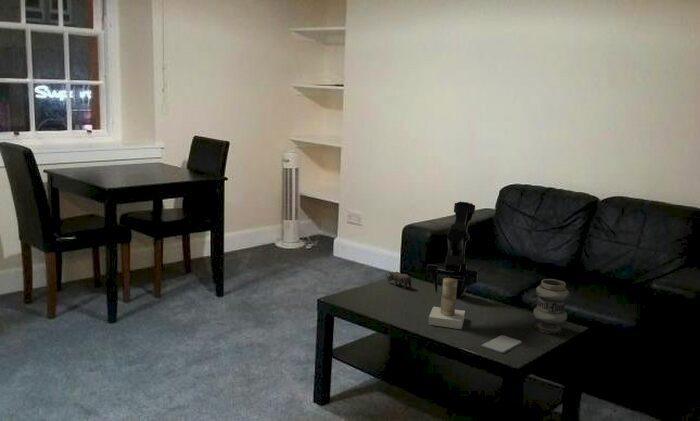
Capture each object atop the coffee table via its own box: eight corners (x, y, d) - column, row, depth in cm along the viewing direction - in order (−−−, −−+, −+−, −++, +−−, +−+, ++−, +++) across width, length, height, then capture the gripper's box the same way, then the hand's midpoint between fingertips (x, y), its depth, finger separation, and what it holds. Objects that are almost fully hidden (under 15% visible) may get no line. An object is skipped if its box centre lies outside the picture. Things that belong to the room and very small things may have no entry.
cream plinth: (432, 314, 255) (433, 306, 255) (464, 318, 253) (465, 310, 252) (428, 324, 244) (428, 316, 243) (461, 329, 241) (462, 321, 241)
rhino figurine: (389, 281, 295) (390, 267, 294) (413, 289, 286) (414, 275, 284) (382, 282, 292) (383, 269, 291) (407, 290, 283) (408, 277, 281)
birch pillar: (449, 310, 251) (452, 277, 249) (457, 315, 246) (460, 281, 244) (437, 311, 249) (440, 278, 247) (445, 316, 244) (448, 282, 242)
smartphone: (523, 341, 232) (502, 352, 221) (523, 344, 232) (502, 355, 221) (501, 334, 237) (480, 344, 226) (501, 337, 237) (480, 347, 226)
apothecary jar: (524, 324, 250) (529, 278, 246) (550, 321, 255) (556, 276, 251) (545, 336, 239) (551, 288, 235) (572, 333, 244) (578, 285, 240)
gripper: (429, 243, 249) (422, 279, 241) (480, 249, 245) (475, 286, 236) (430, 258, 258) (423, 294, 250) (479, 264, 254) (474, 301, 245)
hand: (448, 293), depth 245 cm, fingers open, 9 cm apart
